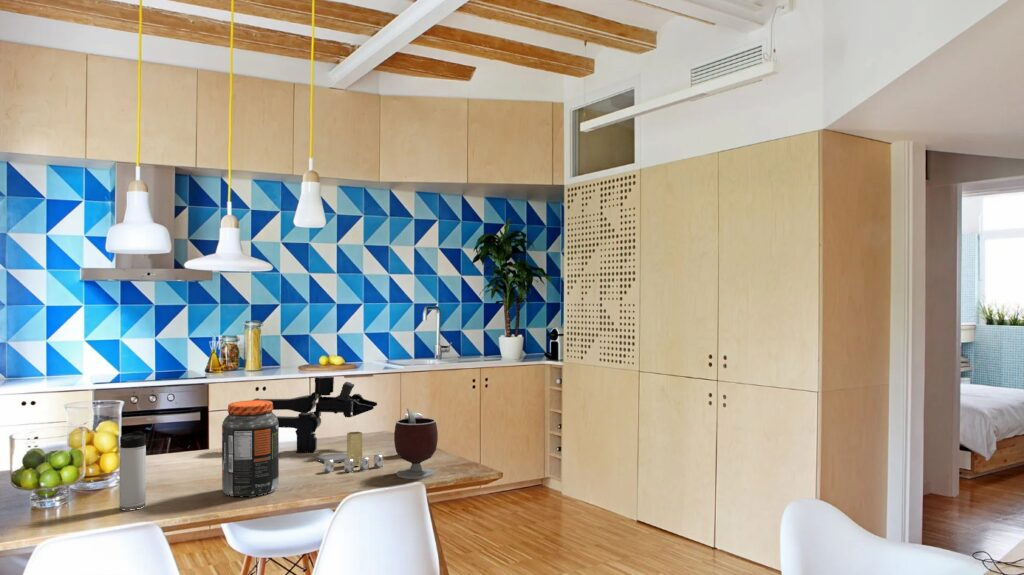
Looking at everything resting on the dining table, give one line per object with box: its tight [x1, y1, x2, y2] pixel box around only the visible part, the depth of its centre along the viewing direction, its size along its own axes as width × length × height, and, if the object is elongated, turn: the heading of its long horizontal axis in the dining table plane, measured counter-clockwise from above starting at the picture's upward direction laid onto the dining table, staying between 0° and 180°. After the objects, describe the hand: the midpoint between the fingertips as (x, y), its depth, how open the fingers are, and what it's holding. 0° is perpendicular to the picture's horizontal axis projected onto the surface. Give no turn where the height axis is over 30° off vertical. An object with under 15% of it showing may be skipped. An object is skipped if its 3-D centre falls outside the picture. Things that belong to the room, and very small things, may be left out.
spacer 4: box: [373, 453, 384, 469], centre depth 247 cm, size 3×3×4 cm
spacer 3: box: [359, 456, 370, 471], centre depth 244 cm, size 3×3×4 cm
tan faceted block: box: [346, 431, 363, 466], centre depth 250 cm, size 4×5×11 cm
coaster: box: [315, 451, 347, 464], centre depth 258 cm, size 10×10×1 cm
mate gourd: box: [393, 408, 439, 480], centre depth 238 cm, size 16×14×20 cm
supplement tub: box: [221, 399, 280, 498], centre depth 217 cm, size 16×16×26 cm
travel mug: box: [118, 431, 147, 510], centre depth 200 cm, size 6×7×20 cm
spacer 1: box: [323, 459, 335, 473], centre depth 240 cm, size 3×3×4 cm
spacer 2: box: [343, 458, 355, 473], centre depth 241 cm, size 3×3×4 cm
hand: (375, 405), depth 274 cm, fingers open, 9 cm apart
